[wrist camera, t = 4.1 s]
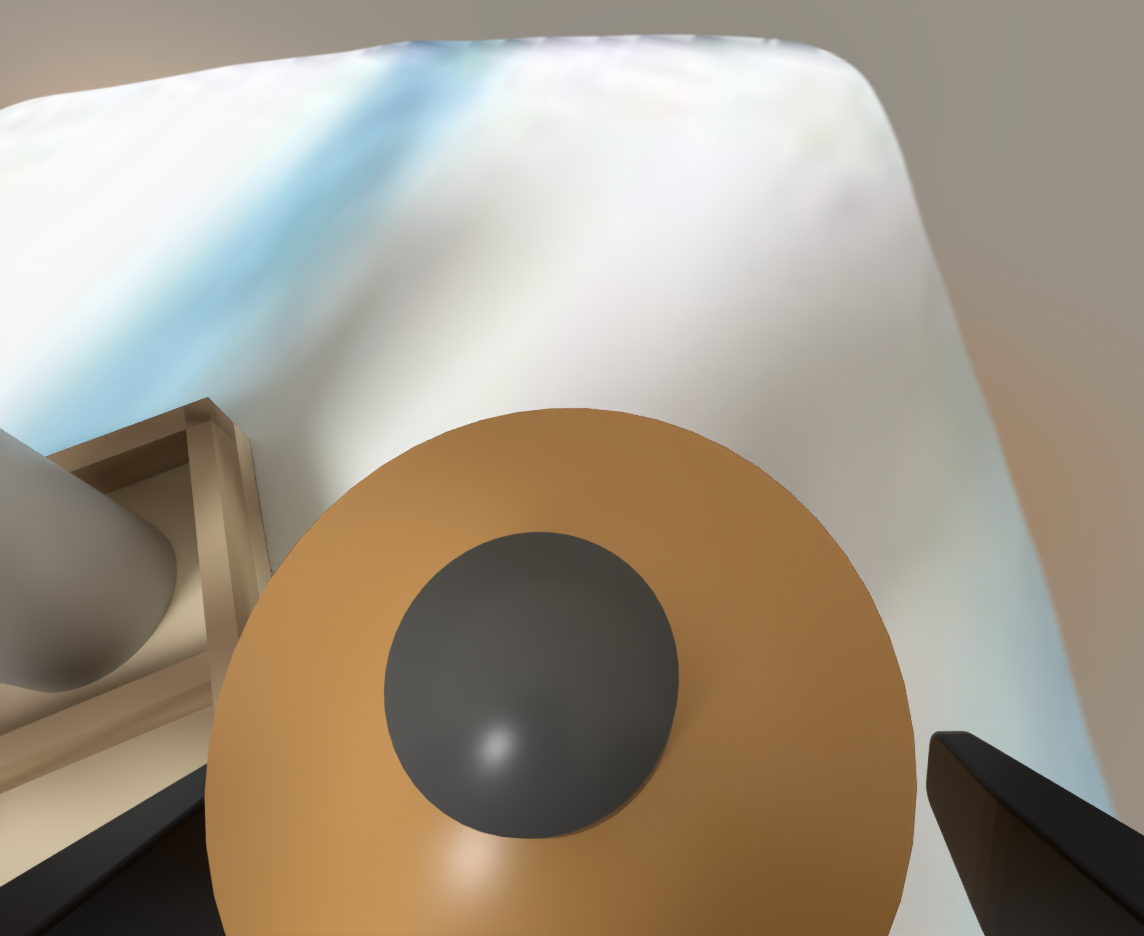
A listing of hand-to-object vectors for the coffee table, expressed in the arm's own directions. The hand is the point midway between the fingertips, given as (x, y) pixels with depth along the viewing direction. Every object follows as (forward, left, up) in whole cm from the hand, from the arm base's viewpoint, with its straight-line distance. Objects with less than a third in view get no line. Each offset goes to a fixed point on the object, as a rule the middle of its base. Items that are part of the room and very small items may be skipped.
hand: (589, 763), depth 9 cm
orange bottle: (0, 0, -9) cm, 9 cm away
